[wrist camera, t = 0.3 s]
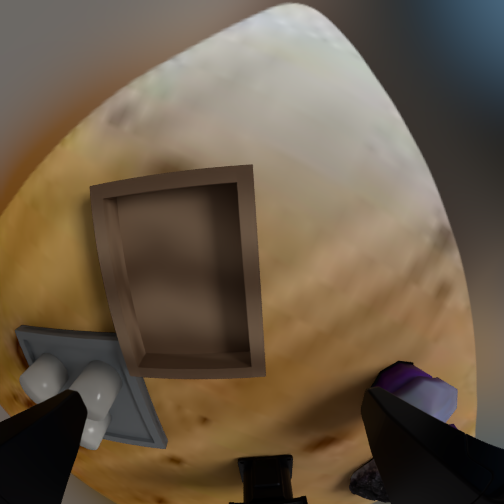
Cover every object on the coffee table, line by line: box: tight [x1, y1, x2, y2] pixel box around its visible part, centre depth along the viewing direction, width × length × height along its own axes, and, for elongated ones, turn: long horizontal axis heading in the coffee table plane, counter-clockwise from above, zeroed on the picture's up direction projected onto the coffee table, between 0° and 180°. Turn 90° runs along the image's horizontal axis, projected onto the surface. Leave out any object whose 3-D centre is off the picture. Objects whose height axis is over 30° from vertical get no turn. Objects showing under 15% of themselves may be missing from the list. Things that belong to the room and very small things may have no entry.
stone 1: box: [20, 353, 68, 404], centre depth 20 cm, size 4×4×4 cm
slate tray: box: [15, 325, 168, 449], centre depth 23 cm, size 15×15×1 cm
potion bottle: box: [371, 361, 458, 429], centre depth 18 cm, size 9×9×12 cm
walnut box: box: [90, 164, 266, 379], centre depth 19 cm, size 15×11×3 cm
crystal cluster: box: [349, 459, 390, 503], centre depth 24 cm, size 13×14×10 cm
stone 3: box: [80, 411, 112, 450], centre depth 21 cm, size 4×4×4 cm
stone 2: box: [69, 360, 122, 421], centre depth 20 cm, size 4×4×4 cm
